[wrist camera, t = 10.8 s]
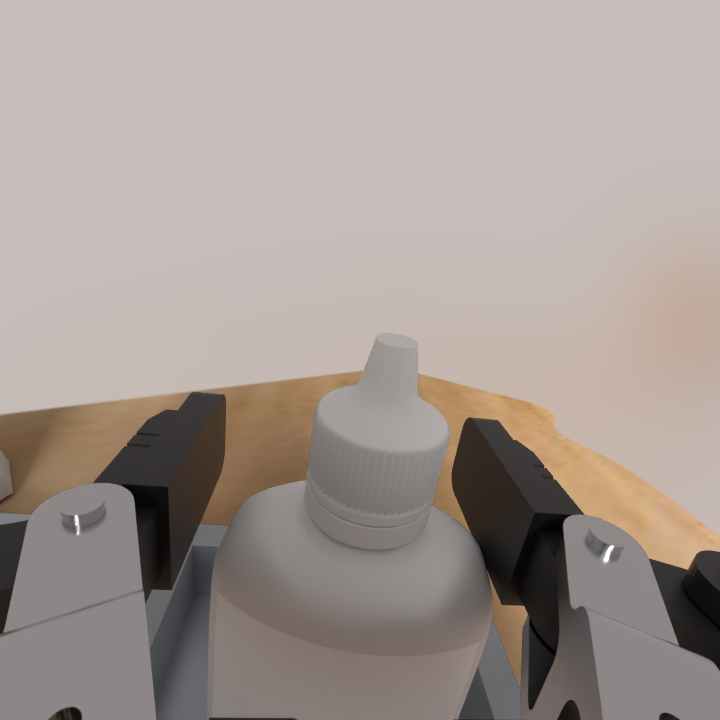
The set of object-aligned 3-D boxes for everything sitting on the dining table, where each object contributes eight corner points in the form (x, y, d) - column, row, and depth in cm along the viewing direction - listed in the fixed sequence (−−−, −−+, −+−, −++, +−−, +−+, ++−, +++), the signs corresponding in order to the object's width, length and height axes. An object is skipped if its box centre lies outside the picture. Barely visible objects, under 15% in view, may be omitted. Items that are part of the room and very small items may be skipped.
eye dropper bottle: (356, 982, 8) (553, 476, 4) (181, 756, 11) (173, 312, 6) (443, 756, 11) (594, 364, 7) (295, 629, 14) (340, 289, 10)
